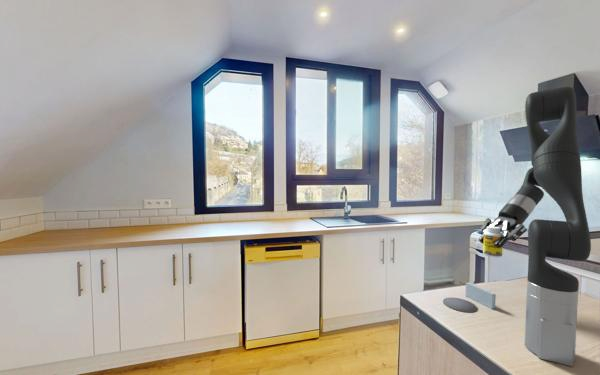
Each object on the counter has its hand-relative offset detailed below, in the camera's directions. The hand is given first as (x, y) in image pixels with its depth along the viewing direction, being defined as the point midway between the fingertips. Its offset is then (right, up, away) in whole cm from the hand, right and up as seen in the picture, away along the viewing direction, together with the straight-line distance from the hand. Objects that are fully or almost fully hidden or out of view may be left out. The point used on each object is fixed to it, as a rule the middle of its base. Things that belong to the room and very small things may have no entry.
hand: (488, 244), depth 94 cm
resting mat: (-12, -20, -3) cm, 24 cm away
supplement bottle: (+2, -4, +1) cm, 5 cm away
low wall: (-4, -20, -1) cm, 21 cm away
